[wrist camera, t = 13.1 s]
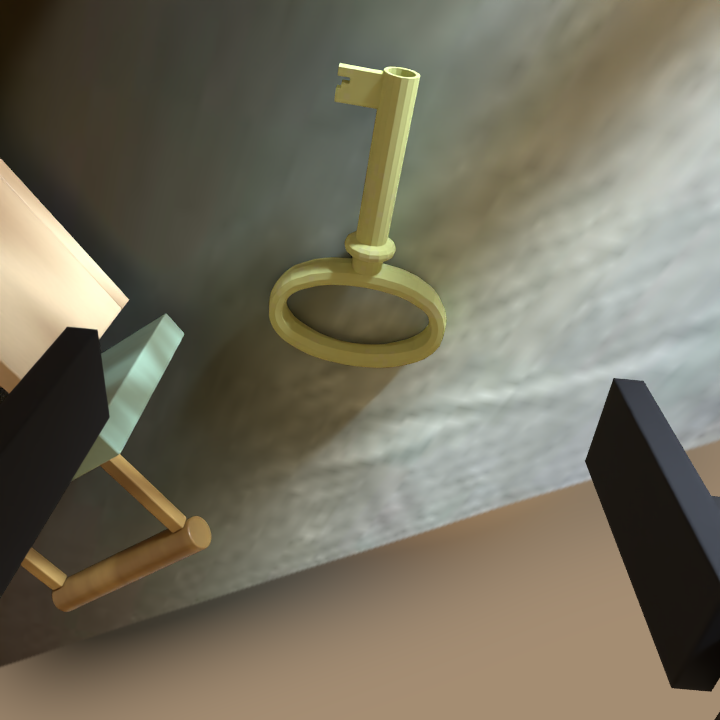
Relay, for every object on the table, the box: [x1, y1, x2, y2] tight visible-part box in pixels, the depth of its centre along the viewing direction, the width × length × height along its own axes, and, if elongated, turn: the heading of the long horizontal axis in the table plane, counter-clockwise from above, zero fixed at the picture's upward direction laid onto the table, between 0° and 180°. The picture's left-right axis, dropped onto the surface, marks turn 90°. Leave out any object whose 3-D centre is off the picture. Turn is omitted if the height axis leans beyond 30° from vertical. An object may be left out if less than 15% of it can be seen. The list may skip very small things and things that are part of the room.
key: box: [269, 63, 446, 368], centre depth 25 cm, size 7×12×2 cm, turn 9°
